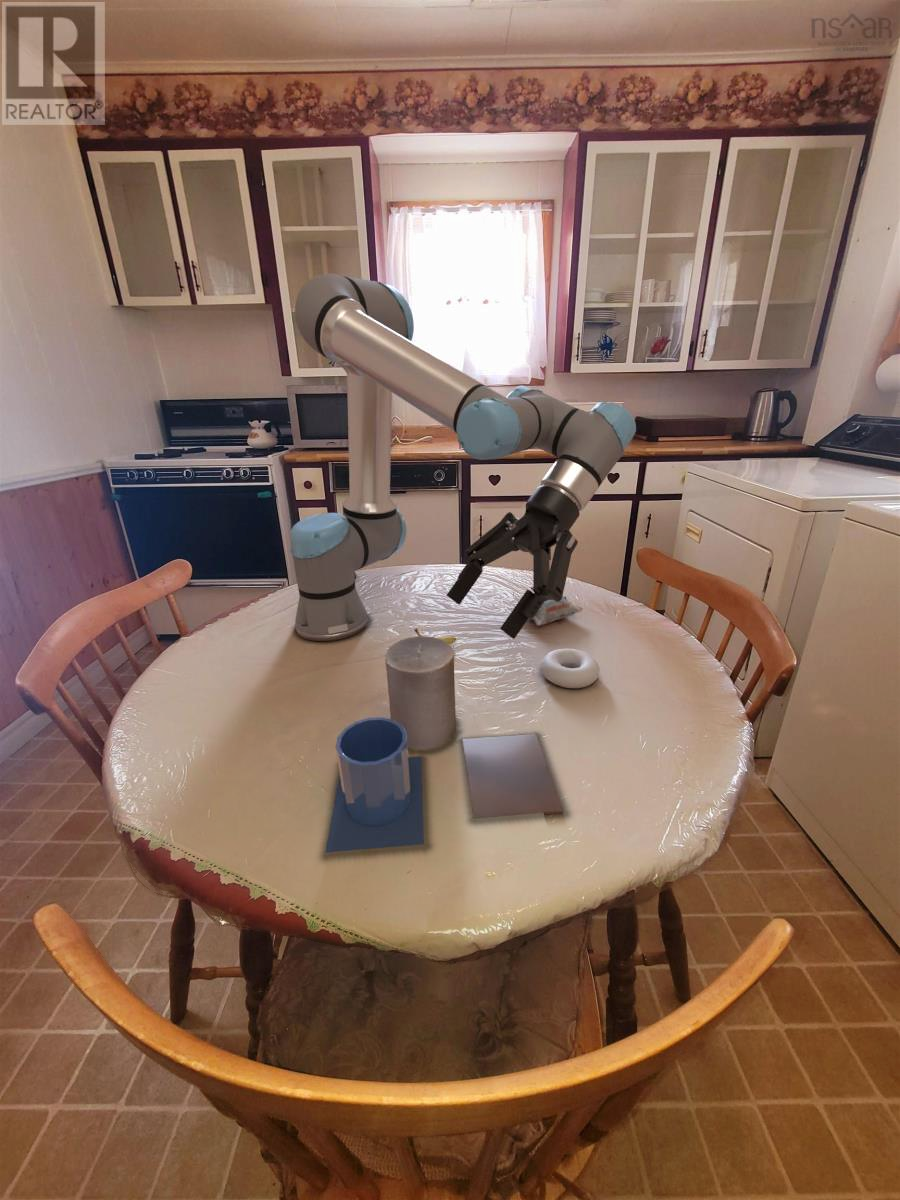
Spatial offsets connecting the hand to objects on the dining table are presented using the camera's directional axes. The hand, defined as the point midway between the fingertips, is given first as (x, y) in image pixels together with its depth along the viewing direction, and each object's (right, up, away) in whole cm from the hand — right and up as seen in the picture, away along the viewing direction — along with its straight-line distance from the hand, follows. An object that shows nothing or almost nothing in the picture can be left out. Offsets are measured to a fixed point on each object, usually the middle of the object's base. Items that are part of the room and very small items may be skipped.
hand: (477, 616), depth 71 cm
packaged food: (+17, -2, +35) cm, 39 cm away
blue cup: (-13, -23, -10) cm, 28 cm away
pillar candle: (-8, -18, +2) cm, 19 cm away
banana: (-7, -7, +25) cm, 27 cm away
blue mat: (-13, -23, -10) cm, 28 cm away
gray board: (+4, -21, -6) cm, 22 cm away
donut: (+17, -11, +15) cm, 25 cm away
